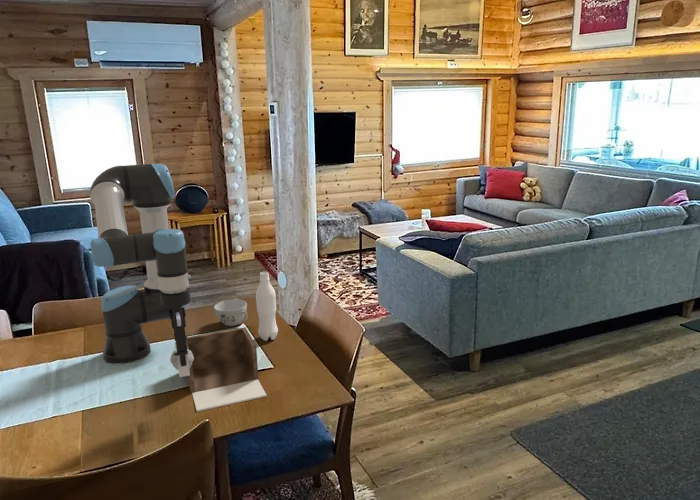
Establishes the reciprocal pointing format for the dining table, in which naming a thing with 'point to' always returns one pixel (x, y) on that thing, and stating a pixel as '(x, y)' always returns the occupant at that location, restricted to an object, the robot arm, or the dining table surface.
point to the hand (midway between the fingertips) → (183, 369)
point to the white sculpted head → (175, 362)
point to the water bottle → (266, 308)
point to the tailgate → (228, 395)
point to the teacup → (231, 311)
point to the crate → (222, 359)
